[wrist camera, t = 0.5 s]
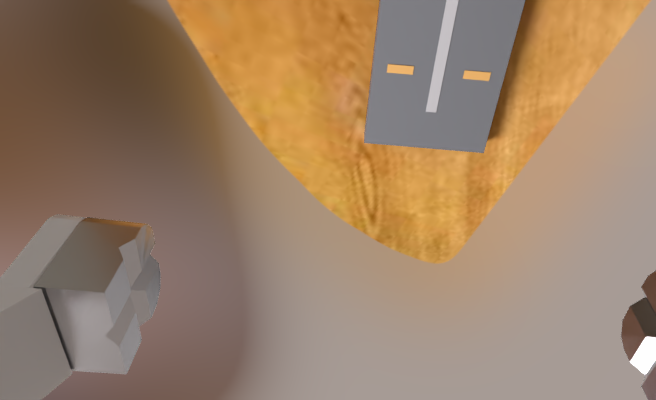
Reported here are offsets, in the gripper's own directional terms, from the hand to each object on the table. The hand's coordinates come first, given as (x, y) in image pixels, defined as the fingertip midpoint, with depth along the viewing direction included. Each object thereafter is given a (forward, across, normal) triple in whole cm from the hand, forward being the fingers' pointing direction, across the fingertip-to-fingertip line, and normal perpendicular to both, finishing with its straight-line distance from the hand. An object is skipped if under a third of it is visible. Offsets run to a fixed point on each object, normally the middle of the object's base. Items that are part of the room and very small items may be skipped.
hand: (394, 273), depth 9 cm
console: (+42, -7, +7) cm, 43 cm away
